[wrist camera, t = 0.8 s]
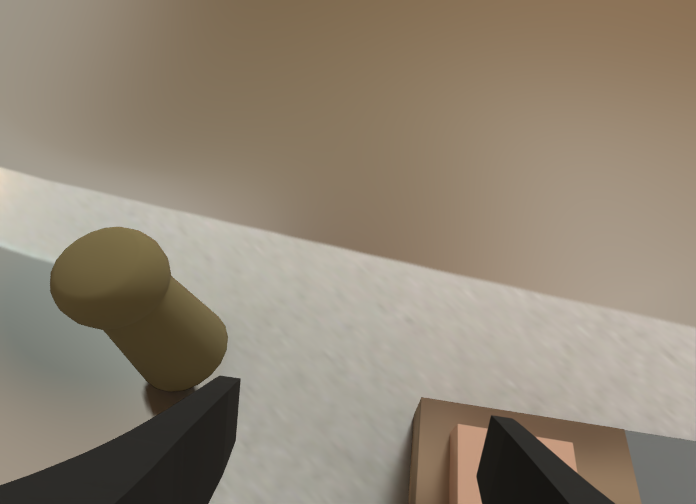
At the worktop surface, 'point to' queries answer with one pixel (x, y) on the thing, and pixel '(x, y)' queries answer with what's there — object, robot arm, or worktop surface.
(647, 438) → the rubber mat
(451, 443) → the terracotta tile
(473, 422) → the walnut board
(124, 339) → the olive tall rounded piece
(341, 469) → the worktop surface
